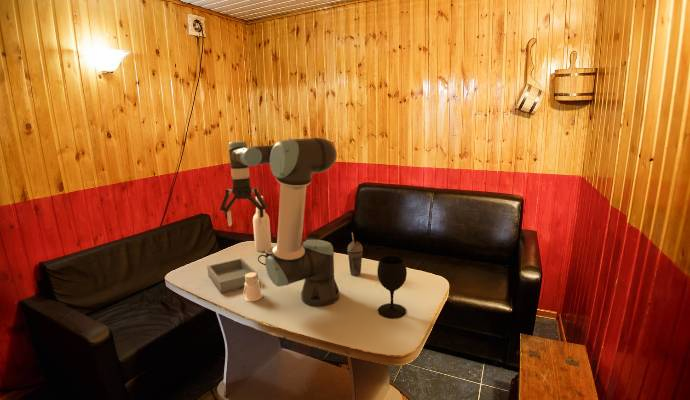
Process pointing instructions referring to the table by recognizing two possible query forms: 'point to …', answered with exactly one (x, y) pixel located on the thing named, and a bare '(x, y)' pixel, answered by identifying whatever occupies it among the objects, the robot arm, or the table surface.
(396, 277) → the wine glass
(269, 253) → the coffee mug
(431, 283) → the table surface
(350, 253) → the beverage cup
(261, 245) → the alcohol
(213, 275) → the tote
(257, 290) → the downlight
